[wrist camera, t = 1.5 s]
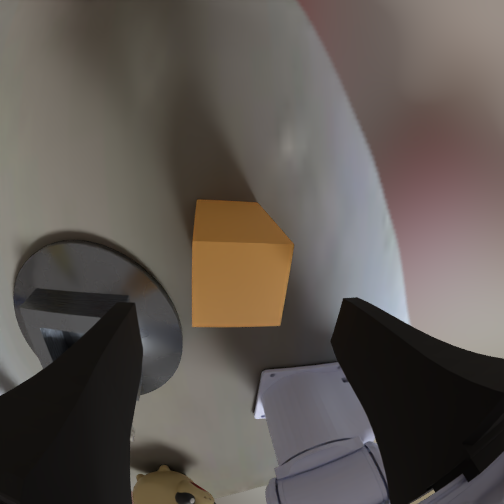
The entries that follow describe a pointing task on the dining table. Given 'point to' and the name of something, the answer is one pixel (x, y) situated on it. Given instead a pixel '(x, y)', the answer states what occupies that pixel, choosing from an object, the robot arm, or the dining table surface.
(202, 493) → the tan rounded figure
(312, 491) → the robot arm
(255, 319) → the orange rectangular block
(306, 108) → the dining table surface
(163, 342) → the grey piece
